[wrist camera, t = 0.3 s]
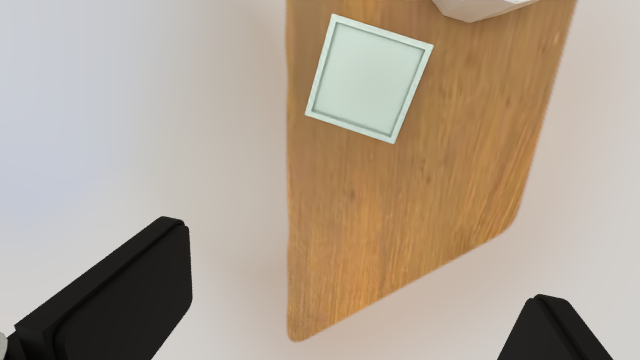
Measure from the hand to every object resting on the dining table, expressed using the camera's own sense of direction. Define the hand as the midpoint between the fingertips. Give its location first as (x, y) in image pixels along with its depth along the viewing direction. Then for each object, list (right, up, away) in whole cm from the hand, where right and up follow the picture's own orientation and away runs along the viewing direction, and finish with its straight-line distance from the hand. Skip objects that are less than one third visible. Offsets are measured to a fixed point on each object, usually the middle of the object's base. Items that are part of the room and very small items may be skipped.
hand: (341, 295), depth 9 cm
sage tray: (+5, +15, +28) cm, 32 cm away
